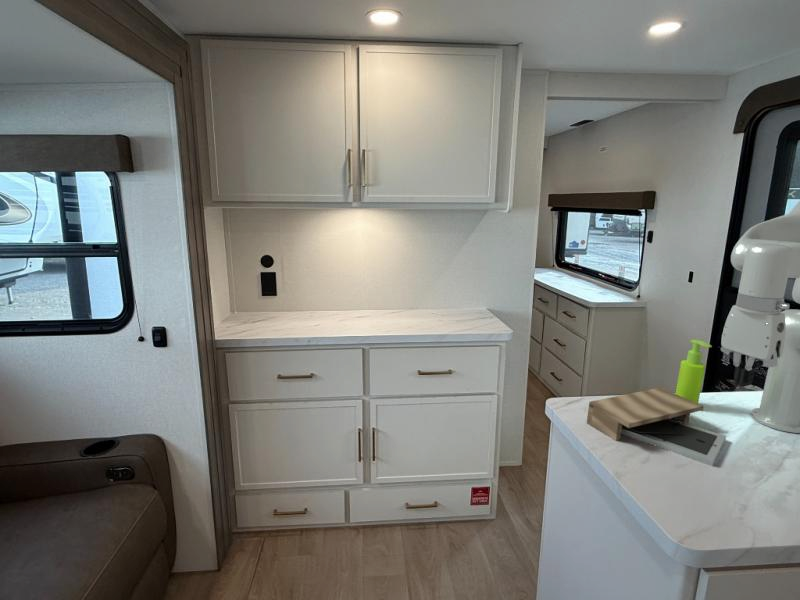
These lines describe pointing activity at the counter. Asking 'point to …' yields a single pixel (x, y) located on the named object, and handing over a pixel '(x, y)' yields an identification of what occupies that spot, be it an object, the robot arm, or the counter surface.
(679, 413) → the walnut shelf
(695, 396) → the soap dispenser
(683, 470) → the counter surface
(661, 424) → the picture frame
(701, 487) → the counter surface
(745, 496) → the counter surface
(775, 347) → the robot arm
